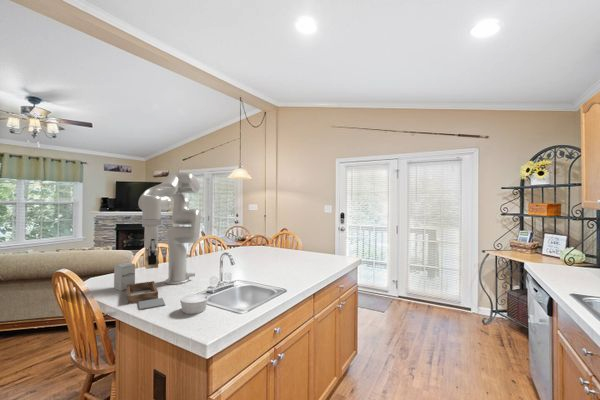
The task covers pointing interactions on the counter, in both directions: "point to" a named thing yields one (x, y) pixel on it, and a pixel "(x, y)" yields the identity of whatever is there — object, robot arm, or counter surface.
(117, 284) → the supplement box
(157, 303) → the mat
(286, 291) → the counter surface
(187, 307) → the ramekin
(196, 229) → the robot arm
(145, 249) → the block
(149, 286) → the box frame
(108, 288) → the counter surface
